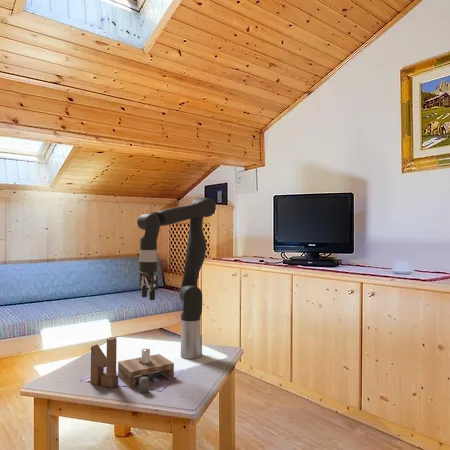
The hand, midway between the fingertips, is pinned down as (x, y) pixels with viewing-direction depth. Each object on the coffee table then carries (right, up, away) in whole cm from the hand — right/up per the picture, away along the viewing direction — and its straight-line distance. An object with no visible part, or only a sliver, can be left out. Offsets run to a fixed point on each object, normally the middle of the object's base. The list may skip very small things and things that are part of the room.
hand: (148, 298), depth 165 cm
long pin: (+1, -30, -9) cm, 31 cm away
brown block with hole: (+1, -30, -9) cm, 31 cm away
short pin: (+3, -30, -23) cm, 38 cm away
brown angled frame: (-14, -30, -17) cm, 37 cm away
